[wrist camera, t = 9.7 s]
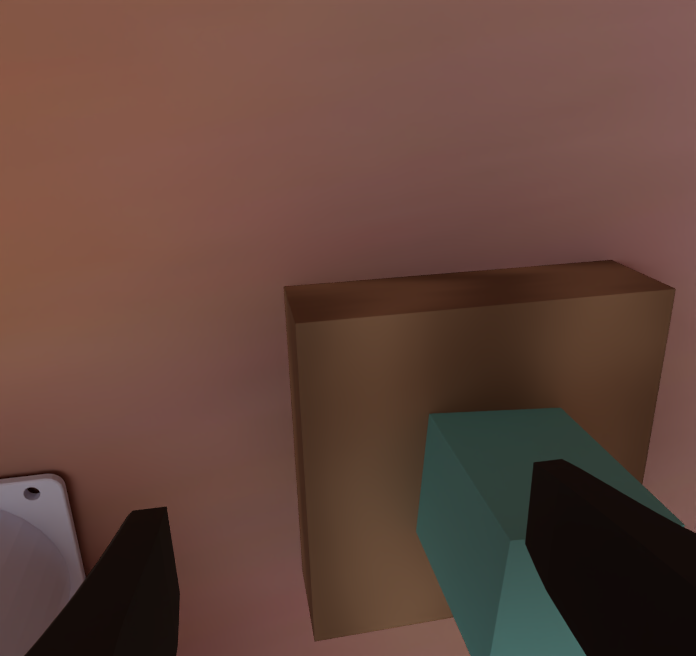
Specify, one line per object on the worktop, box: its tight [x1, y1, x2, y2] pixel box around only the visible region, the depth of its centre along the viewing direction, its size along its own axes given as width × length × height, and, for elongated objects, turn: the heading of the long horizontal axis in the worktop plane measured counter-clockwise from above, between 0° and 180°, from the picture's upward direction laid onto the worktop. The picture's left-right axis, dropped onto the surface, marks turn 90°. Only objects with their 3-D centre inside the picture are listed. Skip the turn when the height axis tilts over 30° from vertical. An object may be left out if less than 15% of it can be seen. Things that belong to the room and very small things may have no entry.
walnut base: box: [284, 260, 676, 641], centre depth 23 cm, size 12×12×4 cm
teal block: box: [416, 408, 685, 656], centre depth 18 cm, size 4×4×6 cm
